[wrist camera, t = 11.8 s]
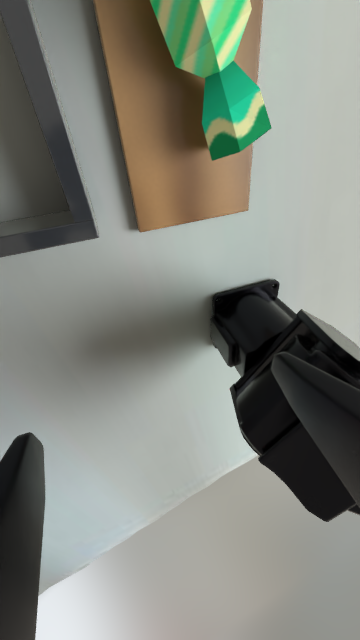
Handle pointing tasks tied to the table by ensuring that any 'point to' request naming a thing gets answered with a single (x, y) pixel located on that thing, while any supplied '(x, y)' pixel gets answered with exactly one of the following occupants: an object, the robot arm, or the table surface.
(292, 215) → the table surface
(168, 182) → the brown wooden board
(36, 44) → the dark grey tray
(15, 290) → the table surface
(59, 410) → the table surface
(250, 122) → the candy
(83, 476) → the table surface
